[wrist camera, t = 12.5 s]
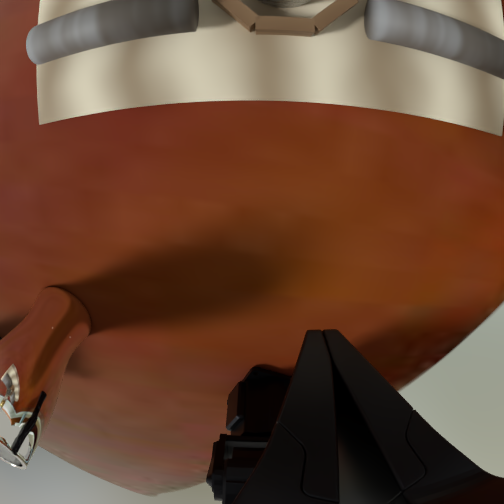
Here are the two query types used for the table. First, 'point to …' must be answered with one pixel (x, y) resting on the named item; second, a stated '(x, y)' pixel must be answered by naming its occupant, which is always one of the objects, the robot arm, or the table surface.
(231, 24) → the shaft board
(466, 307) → the table surface
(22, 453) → the beer glass
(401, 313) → the table surface
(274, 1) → the metal cup
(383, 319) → the table surface
